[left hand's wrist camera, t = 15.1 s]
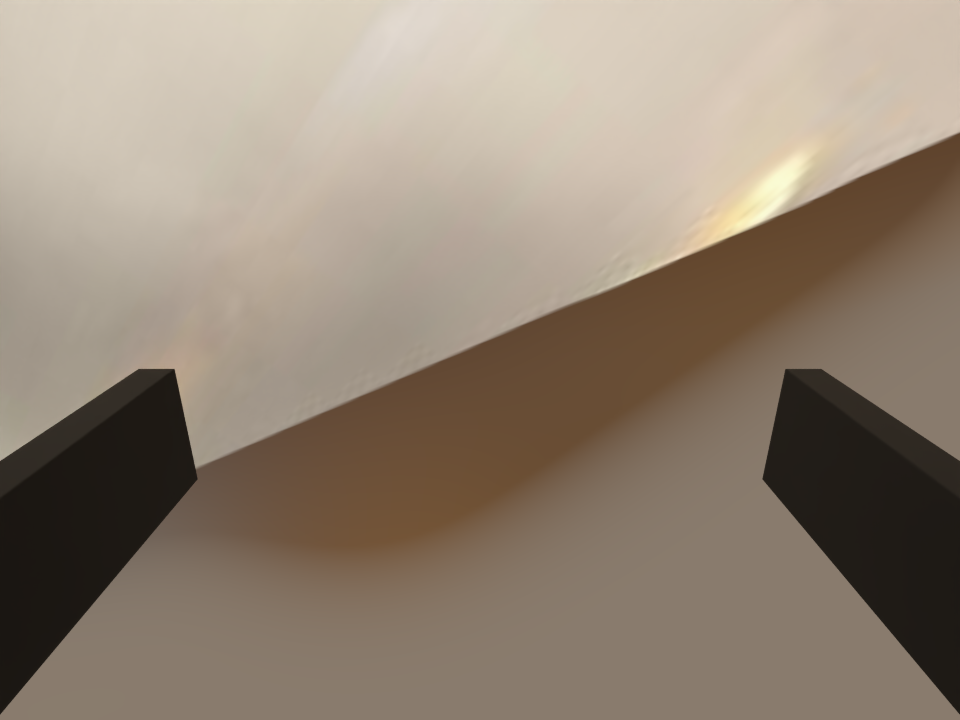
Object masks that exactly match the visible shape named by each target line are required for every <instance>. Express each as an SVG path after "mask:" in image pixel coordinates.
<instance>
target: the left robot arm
mask: <svg viewBox="0 0 960 720" xmlns="http://www.w3.org/2000/svg"><path fill="white" fill-rule="evenodd" d="M196 480H197V474H196V469H195V465H194V460H193V455H192V450H191V446H190V441H189V436H188V431H187V427H186V422H185V417H184V412H183V407H182V403H181V398H180V393H179V388H178V384H177V379H176V374H175V369H138V370H137V371H135V372H134V373H132V374H131V375H129V376H128V377H126V378H125V379H123V380H122V381H120V382H119V383H117V384H116V385H114V386H113V387H111V388H110V389H108V390H107V391H105V392H104V393H102V394H101V395H99V396H98V397H96V398H95V399H93V400H92V401H90V402H88V403H87V404H85V405H84V406H82V407H81V408H79V409H78V410H76V411H75V412H73V413H72V414H70V415H69V416H67V417H66V418H64V419H63V420H61V421H60V422H58V423H57V424H55V425H54V426H52V427H51V428H49V429H48V430H46V431H45V432H43V433H42V434H40V435H39V436H37V437H36V438H34V439H33V440H31V441H30V442H28V443H27V444H25V445H24V446H22V447H21V448H19V449H18V450H16V451H15V452H13V453H12V454H10V455H9V456H7V457H6V458H4V459H3V460H1V461H0V714H1V713H2V712H3V710H4V709H5V708H6V707H7V706H8V704H9V703H10V702H11V701H12V700H13V699H14V697H15V696H16V695H17V694H18V693H19V691H20V690H21V689H22V688H23V687H24V685H25V684H26V683H27V682H28V681H29V679H30V678H31V677H32V676H33V675H34V673H35V672H36V671H37V670H38V669H39V668H40V666H41V665H42V664H43V663H44V662H45V660H46V659H47V658H48V657H49V656H50V654H51V653H52V652H53V651H54V650H55V648H56V647H57V646H58V645H59V644H60V643H61V641H62V640H63V639H64V638H65V636H66V635H67V634H68V633H69V632H70V631H71V629H72V628H73V627H74V626H75V625H76V623H77V622H78V621H79V620H80V619H81V617H82V616H83V615H84V614H85V613H86V612H87V610H88V609H89V608H90V607H91V605H92V604H93V603H94V602H95V601H96V600H97V598H98V597H99V596H100V595H101V594H102V592H103V591H104V590H105V589H106V588H107V586H108V585H109V584H110V583H111V582H112V581H113V579H114V578H115V577H116V576H117V574H118V573H119V572H120V571H121V570H122V568H123V567H124V566H125V565H126V564H127V563H128V561H129V560H130V559H131V558H132V557H133V555H134V554H135V553H136V552H137V551H138V550H139V548H140V547H141V546H142V545H143V544H144V542H145V541H146V540H147V539H148V538H149V536H150V535H151V534H152V533H153V532H154V530H155V529H156V528H157V527H158V526H159V524H160V523H161V522H162V521H163V520H164V519H165V517H166V516H167V515H168V514H169V512H170V511H171V510H172V509H173V508H174V507H175V505H176V504H177V503H178V502H179V501H180V499H181V498H182V497H183V496H184V495H185V493H186V492H187V491H188V490H189V489H190V487H191V486H192V485H193V484H194V483H195V482H196ZM763 480H764V482H765V483H766V484H767V485H768V486H769V487H770V489H771V490H772V491H773V492H774V493H775V495H776V496H777V497H778V498H779V499H780V501H781V502H782V503H783V504H784V505H785V507H786V508H787V509H788V510H789V511H790V512H791V514H792V515H793V516H794V517H795V518H796V520H797V521H798V522H799V523H800V524H801V526H802V527H803V528H804V529H805V530H806V532H807V533H808V534H809V535H810V536H811V538H812V539H813V540H814V541H815V542H816V544H817V545H818V546H819V547H820V548H821V550H822V551H823V552H824V553H825V554H826V555H827V557H828V558H829V559H830V560H831V561H832V563H833V564H834V565H835V566H836V567H837V569H838V570H839V571H840V572H841V573H842V575H843V576H844V577H845V578H846V579H847V581H848V582H849V583H850V584H851V585H852V586H853V588H854V589H855V590H856V591H857V592H858V594H859V595H860V596H861V597H862V598H863V600H864V601H865V602H866V603H867V604H868V605H869V607H870V608H871V609H872V610H873V612H874V613H875V614H876V615H877V616H878V617H879V619H880V620H881V621H882V622H883V623H884V625H885V626H886V627H887V628H888V629H889V631H890V632H891V633H892V634H893V635H894V637H895V638H896V639H897V640H898V641H899V643H900V644H901V645H902V646H903V647H904V648H905V650H906V651H907V652H908V653H909V654H910V656H911V657H912V658H913V659H914V660H915V662H916V663H917V664H918V665H919V666H920V668H921V669H922V670H923V671H924V672H925V673H926V675H927V676H928V677H929V678H930V679H931V681H932V682H933V683H934V684H935V685H936V687H937V688H938V689H939V690H940V691H941V693H942V694H943V695H944V696H945V697H946V699H947V700H948V701H949V702H950V703H951V704H952V706H953V707H954V708H955V709H956V710H957V712H958V713H959V714H960V461H959V460H957V459H956V458H954V457H953V456H951V455H950V454H948V453H947V452H945V451H944V450H942V449H941V448H939V447H938V446H936V445H935V444H933V443H932V442H930V441H929V440H927V439H926V438H924V437H923V436H921V435H920V434H918V433H917V432H915V431H914V430H912V429H911V428H909V427H908V426H906V425H905V424H903V423H902V422H900V421H899V420H897V419H896V418H894V417H893V416H891V415H889V414H888V413H886V412H885V411H884V410H882V409H880V408H879V407H877V406H876V405H875V404H873V403H872V402H870V401H868V400H867V399H865V398H864V397H862V396H861V395H859V394H858V393H856V392H855V391H853V390H852V389H850V388H849V387H847V386H846V385H844V384H843V383H841V382H840V381H838V380H837V379H835V378H834V377H832V376H831V375H829V374H828V373H826V372H825V371H823V370H822V369H786V370H785V374H784V379H783V384H782V388H781V393H780V398H779V403H778V407H777V412H776V417H775V422H774V427H773V431H772V436H771V441H770V446H769V451H768V455H767V460H766V465H765V470H764V474H763Z"/></svg>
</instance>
